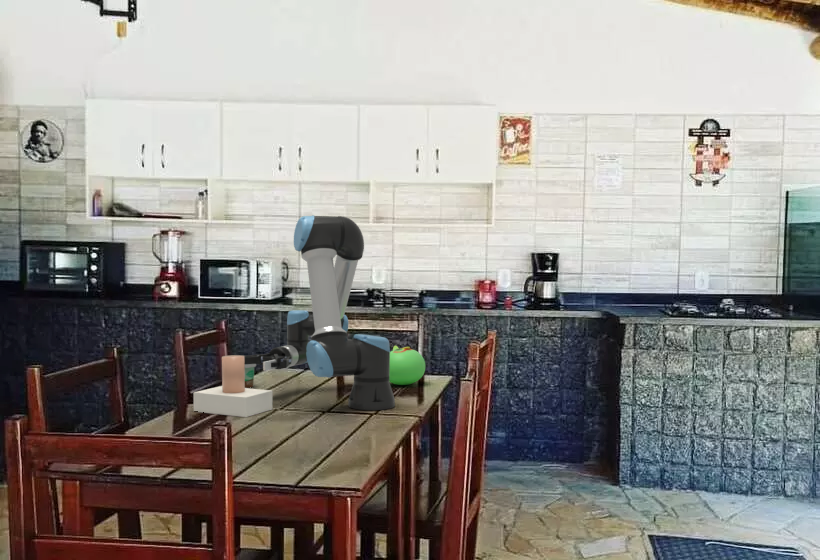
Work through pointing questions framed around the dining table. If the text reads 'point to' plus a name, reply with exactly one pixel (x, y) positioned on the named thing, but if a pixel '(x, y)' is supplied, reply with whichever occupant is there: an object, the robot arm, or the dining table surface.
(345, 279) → the robot arm
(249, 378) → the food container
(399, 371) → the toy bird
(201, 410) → the cream riser
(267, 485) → the dining table surface
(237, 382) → the terracotta canister
